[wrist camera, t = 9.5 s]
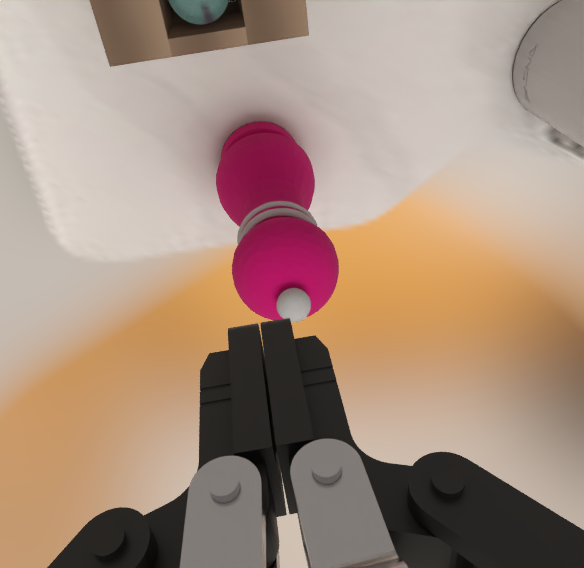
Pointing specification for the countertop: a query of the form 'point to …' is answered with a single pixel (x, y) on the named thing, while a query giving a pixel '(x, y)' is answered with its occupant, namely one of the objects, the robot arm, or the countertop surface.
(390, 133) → the countertop surface
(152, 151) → the countertop surface
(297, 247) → the pepper mill
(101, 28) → the walnut block
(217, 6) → the peg
